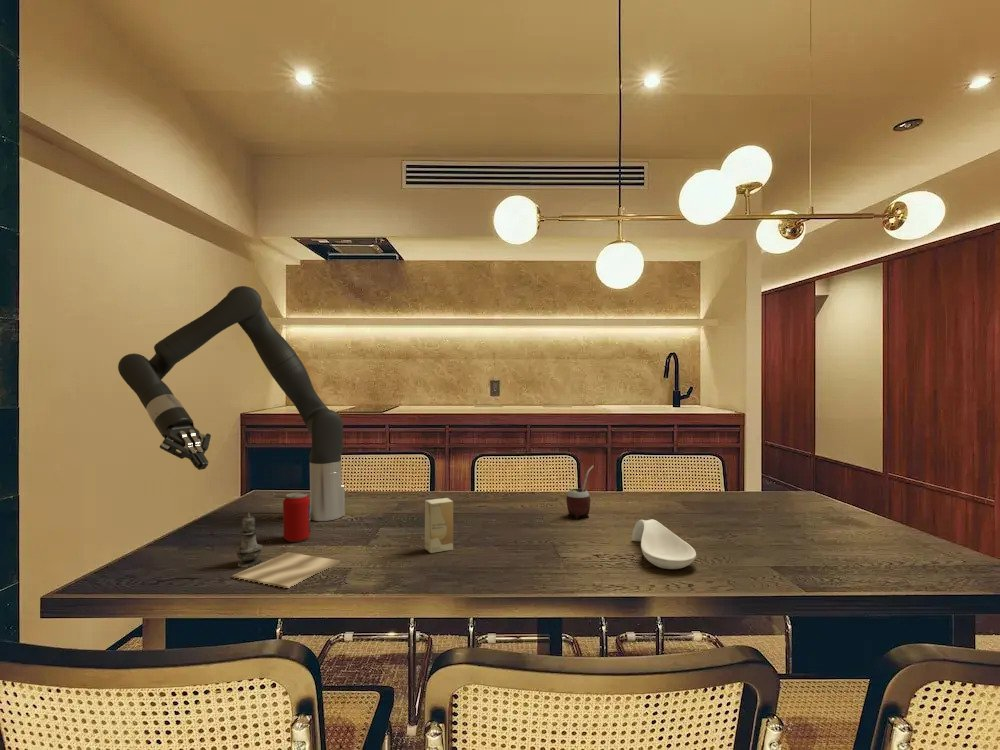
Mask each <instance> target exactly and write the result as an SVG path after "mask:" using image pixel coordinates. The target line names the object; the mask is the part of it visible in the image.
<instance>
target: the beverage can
mask: <svg viewBox="0 0 1000 750" xmlns="http://www.w3.org/2000/svg"><path fill="white" fill-rule="evenodd" d="M310 511H311V510H310V497H309V495H308V493H307V492H304V491H303V492H292V493H288V494H285V498H284V499H283V502H282V512H283V517H282V518H283V519H282V520H283V521H282V522H283V523H282V524H283V539H284V540H286V541H287V542H288V543H299V542H304V541H306V540H307V539H308V538H310V537H311V514H310ZM303 540H304V541H303Z"/></svg>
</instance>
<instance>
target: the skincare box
mask: <svg viewBox="0 0 1000 750" xmlns="http://www.w3.org/2000/svg"><path fill="white" fill-rule="evenodd" d="M424 549H425V550H426V551H427V552H428V553H430V554H434V553H439V552H446V551H453V550H454V501H453V500H451V499H450V498H448V497H443V498H434V499H426V500H424Z"/></svg>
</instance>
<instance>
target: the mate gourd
mask: <svg viewBox="0 0 1000 750" xmlns="http://www.w3.org/2000/svg"><path fill="white" fill-rule="evenodd" d="M593 468H594V465H591V467H589V468H588V470H587V472H586V473H585V477H584V481H583V486H582V488H572V489H569V490H568V491H567V493H566V494H567V495H566V498H565V499H566V506H567V512H568V514H567V515H568V518H569V517H570V518H571V517H572V518H574V520H576V521H577V520H579V518H583V519H589V518H590V516H589V513H590V509H591V497H590V493H589V492H588V490H587V489H585V488H586V485H587V484H586V483H587V480H588V477H589V473H590V471H591V470H592V469H593Z"/></svg>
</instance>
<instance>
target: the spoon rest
mask: <svg viewBox="0 0 1000 750" xmlns="http://www.w3.org/2000/svg"><path fill="white" fill-rule="evenodd" d="M631 541H633V542H640V549H641V553H642V554H643V556H644V558H645V560H647V561H648V562H649V563H650V564H652V565H654V566H655V567H657V568H660V569H664V570H679V569H683V568H686V567H688V566H690V565H691V564H692V563H693V562H694V560H695V559H696V557H697V552H696V550H695V548H694V547H692V545H690V544H689V543H687V542H686V541H685V540H683V538H680V537H679V536H678V535H676V534H675V533H674V532H673V531H671V530H670V529H669V528H667V527H666V526H664V525H663V524H662V523H660V522H659V521H657V520H656V519H648V520H646V519H645V520H644V519H639V520H638V521H637V522H636V523H635V525H634V527H633V530H632V533H631Z"/></svg>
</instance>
